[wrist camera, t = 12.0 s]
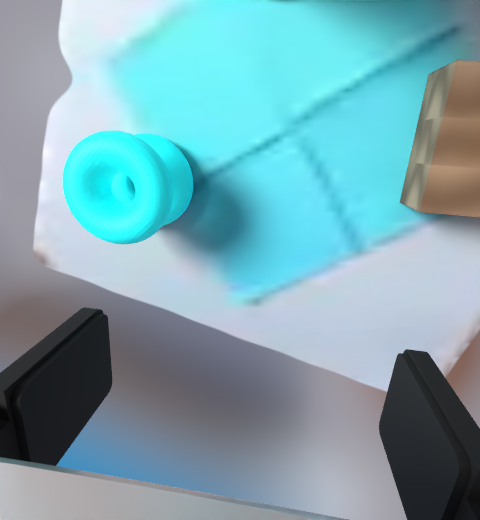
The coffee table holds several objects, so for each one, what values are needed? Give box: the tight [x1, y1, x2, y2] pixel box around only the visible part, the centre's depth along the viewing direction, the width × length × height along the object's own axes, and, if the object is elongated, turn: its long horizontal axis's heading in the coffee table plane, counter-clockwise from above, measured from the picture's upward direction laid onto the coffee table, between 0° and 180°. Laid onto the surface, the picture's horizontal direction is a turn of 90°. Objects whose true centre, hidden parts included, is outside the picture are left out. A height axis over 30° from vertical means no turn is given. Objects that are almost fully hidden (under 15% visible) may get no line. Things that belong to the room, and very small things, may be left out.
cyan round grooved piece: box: [63, 131, 193, 244], centre depth 33 cm, size 10×10×10 cm
